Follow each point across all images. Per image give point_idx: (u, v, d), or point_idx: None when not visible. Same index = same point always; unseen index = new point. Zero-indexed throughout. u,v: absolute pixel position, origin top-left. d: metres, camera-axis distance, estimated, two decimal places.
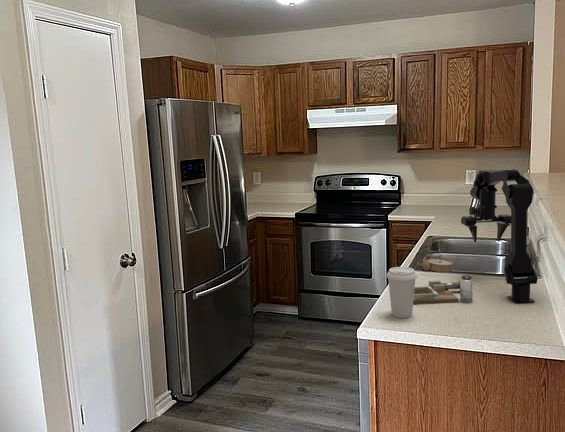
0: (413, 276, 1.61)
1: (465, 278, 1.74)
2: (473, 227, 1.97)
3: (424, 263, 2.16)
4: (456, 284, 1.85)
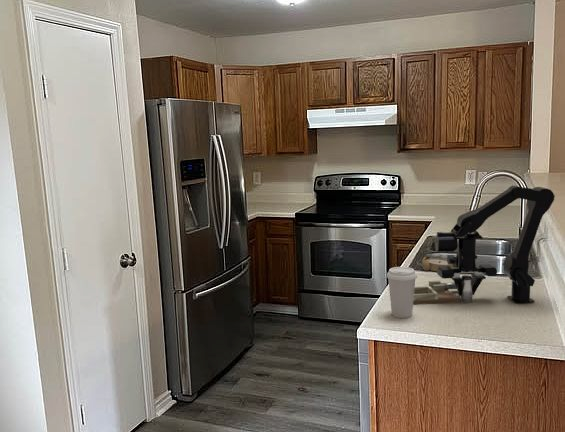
0: (413, 276, 1.61)
1: (465, 278, 1.74)
2: (457, 280, 1.72)
3: (424, 263, 2.16)
4: None
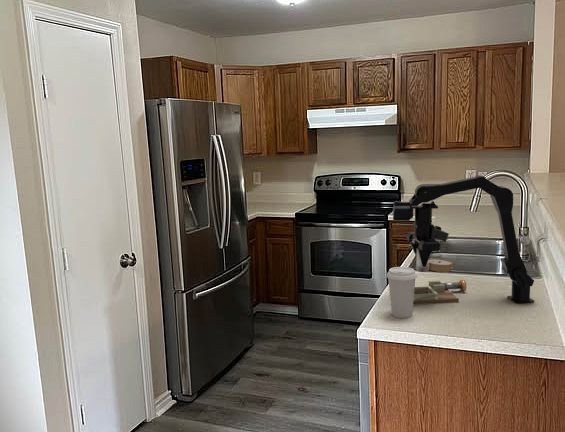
0: (413, 276, 1.61)
1: (418, 246, 1.78)
2: (411, 244, 1.81)
3: None
4: (456, 284, 1.85)
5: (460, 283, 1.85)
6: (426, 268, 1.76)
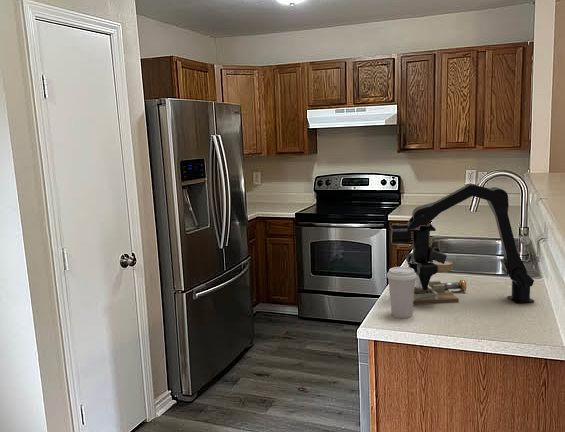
0: (413, 276, 1.61)
1: (416, 272, 1.79)
2: (408, 264, 1.84)
3: None
4: (456, 284, 1.85)
5: (460, 283, 1.85)
6: None
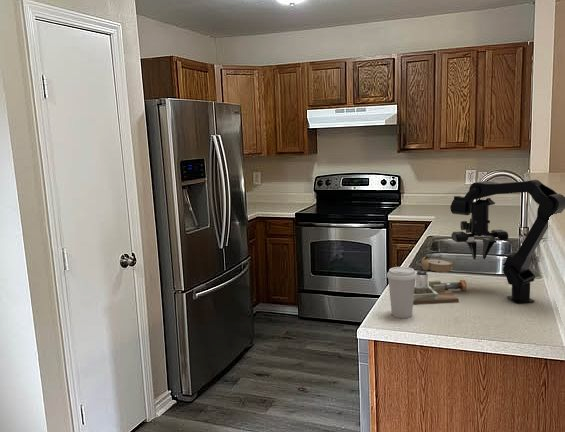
0: (413, 276, 1.61)
1: None
2: (472, 243, 1.81)
3: (423, 263, 2.16)
4: (456, 284, 1.85)
5: (460, 283, 1.85)
6: None
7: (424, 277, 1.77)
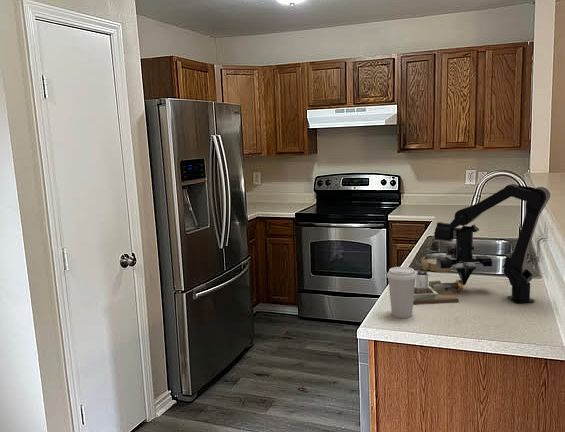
0: (413, 276, 1.61)
1: None
2: (461, 269, 1.82)
3: (423, 263, 2.16)
4: (452, 284, 1.85)
5: (456, 283, 1.85)
6: None
7: (424, 277, 1.77)
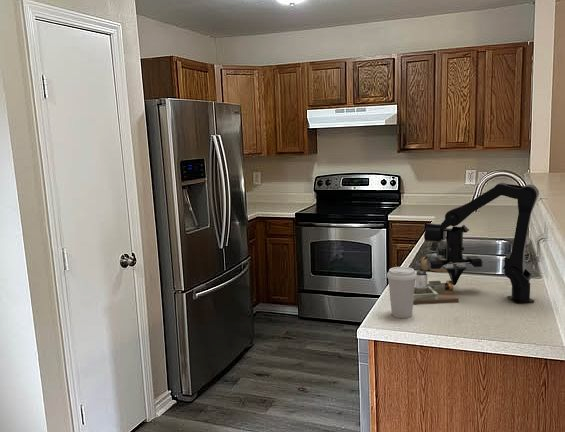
0: (413, 276, 1.61)
1: None
2: (451, 270, 1.82)
3: (423, 263, 2.16)
4: None
5: (446, 284, 1.85)
6: None
7: (423, 277, 1.77)
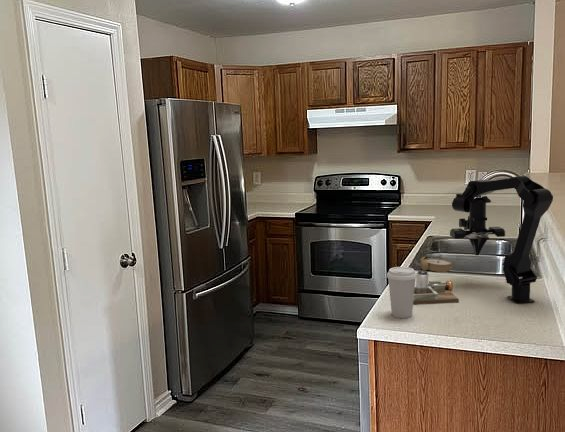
0: (413, 276, 1.61)
1: None
2: (474, 240, 1.87)
3: (422, 263, 2.16)
4: None
5: (446, 284, 1.85)
6: None
7: (424, 277, 1.77)
